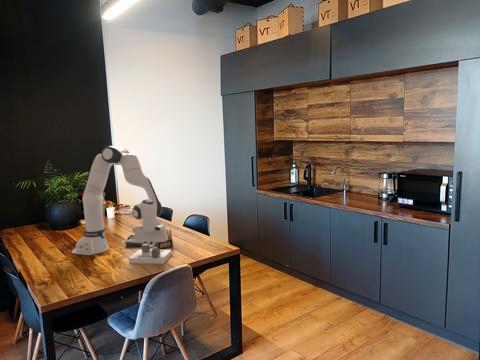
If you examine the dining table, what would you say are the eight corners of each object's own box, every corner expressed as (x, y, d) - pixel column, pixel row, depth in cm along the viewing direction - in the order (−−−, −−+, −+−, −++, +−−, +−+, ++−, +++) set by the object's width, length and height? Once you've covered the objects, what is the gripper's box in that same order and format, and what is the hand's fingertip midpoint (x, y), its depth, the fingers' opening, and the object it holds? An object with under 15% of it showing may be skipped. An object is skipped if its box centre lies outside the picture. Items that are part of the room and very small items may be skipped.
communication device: (159, 248, 244) (158, 235, 243) (124, 247, 248) (123, 234, 246) (165, 242, 256) (164, 229, 255) (132, 241, 259) (131, 229, 258)
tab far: (141, 251, 227) (141, 245, 226) (144, 249, 231) (143, 243, 230) (148, 251, 226) (147, 245, 226) (150, 249, 230) (149, 243, 229)
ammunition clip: (157, 250, 238) (156, 232, 236) (156, 249, 240) (155, 231, 238) (173, 246, 244) (171, 229, 242) (172, 246, 246) (170, 228, 244)
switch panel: (129, 262, 219) (128, 257, 218) (139, 253, 233) (139, 249, 233) (163, 263, 215) (163, 258, 215) (172, 254, 230) (171, 249, 230)
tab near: (151, 256, 218) (151, 250, 217) (154, 254, 221) (153, 248, 221) (158, 256, 217) (157, 250, 216) (160, 254, 221) (160, 248, 220)
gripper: (131, 227, 224) (133, 249, 226) (164, 228, 221) (165, 250, 223) (136, 224, 230) (137, 246, 232) (167, 225, 227) (169, 246, 229)
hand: (151, 248), depth 227 cm, fingers closed
